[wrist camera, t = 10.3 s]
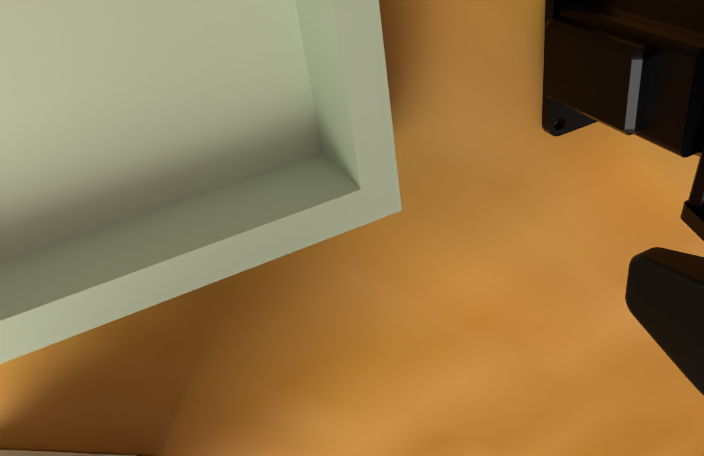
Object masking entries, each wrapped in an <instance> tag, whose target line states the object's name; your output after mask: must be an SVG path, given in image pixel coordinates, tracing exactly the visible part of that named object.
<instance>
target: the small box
mask: <svg viewBox="0 0 704 456" xmlns="http://www.w3.org/2000/svg"><path fill="white" fill-rule="evenodd" d="M0 456H135V455H111V454H87V453H67V452H51V451H29V450H0Z"/></svg>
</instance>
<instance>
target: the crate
mask: <svg viewBox="0 0 704 456" xmlns="http://www.w3.org/2000/svg"><path fill="white" fill-rule="evenodd" d="M400 211H402V207H401V198H400V189H399V179H398V170H397V161H396V152H395V143H394V134H393V125H392V116H391V107H390V98H389V89H388V80H387V71H386V61H385V52H384V43H383V34H382V25H381V16H380V7H379V0H0V364H2V363H4V362H7V361H10V360H12V359H15V358H17V357H20V356H23V355H25V354H28V353H30V352H33V351H36V350H38V349H41V348H44V347H46V346H49V345H51V344H54V343H57V342H59V341H62V340H65V339H67V338H70V337H72V336H75V335H78V334H80V333H83V332H85V331H88V330H91V329H93V328H96V327H99V326H101V325H104V324H106V323H109V322H112V321H114V320H117V319H119V318H122V317H125V316H127V315H130V314H133V313H135V312H138V311H140V310H143V309H146V308H148V307H151V306H154V305H156V304H159V303H161V302H164V301H167V300H169V299H172V298H174V297H177V296H180V295H182V294H185V293H188V292H190V291H193V290H195V289H198V288H201V287H203V286H206V285H208V284H211V283H214V282H216V281H219V280H222V279H224V278H227V277H229V276H232V275H235V274H237V273H240V272H242V271H245V270H248V269H250V268H253V267H256V266H258V265H261V264H263V263H266V262H269V261H271V260H274V259H277V258H279V257H282V256H284V255H287V254H290V253H292V252H295V251H297V250H300V249H303V248H305V247H308V246H311V245H313V244H316V243H318V242H321V241H324V240H326V239H329V238H331V237H334V236H337V235H339V234H342V233H345V232H347V231H350V230H352V229H355V228H358V227H360V226H363V225H366V224H368V223H371V222H373V221H376V220H379V219H381V218H384V217H386V216H389V215H392V214H394V213H397V212H400Z"/></svg>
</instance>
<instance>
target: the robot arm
mask: <svg viewBox="0 0 704 456" xmlns="http://www.w3.org/2000/svg"><path fill="white" fill-rule="evenodd" d="M557 119H558V122H557V123H556V124H555V122H556V121H557ZM598 121H599V122H601V123H603V124H605V125H607V126H609V127H611V128H613V129H615V130H618V131H620V132H622V133H624V134H626V135H632V134H634V135H636V136H638V137H641V138H643V139H645V140H647V141H649V142H651V143H653V144H656V145H658V146H660V147H662V148H664V149H666V150H668V151H671V152H673V153H675V154H677V155H679V156H681V157H683V158H684V157H689V156H691V155H693V154H694V155H697V156H699V157H700V159H699V163H698V167H697V170H696V174H695V177H694V181H693V185H692V188H691V192H690V196H689V199H688V200H687V201H685V202H684V206H683V210H682V213H681V219H682V220H683V221H684V222H685V223H686V224H687V225H688V226H689V227H690V228H691V229H692V230H693V231H694V232H695V233H696V234H697V235H698V236H699V237H700V238H701V239H702V240H703V241H704V0H546V7H545V41H544V75H543V109H542V127H543V129H544V131H545V132H547V133H549V134H551V135H553V136H560V135H563V134H566V133H568V132H571V131H574V130H576V129H579V128H582V127H584V126H587V125H590V124H592V123H595V122H598ZM625 299H626V304H627V306H628V308H629V310H630V312H631V313H632V314H633V316H634V317H635V318H636V319H637V320H638V321H639V323H640V324H641V325H642V326H643V327H644V328H645V330H646V331H647V332H648V333H649V334H650V335H651V337H652V338H653V339H654V340H655V341H656V342H657V344H658V345H659V346H660V347H661V348H662V349H663V351H664V352H665V353H666V354H667V355H668V356H669V357H670V359H671V360H672V361H673V362H674V363H675V364H676V366H677V367H678V368H679V369H680V370H681V371H682V373H683V374H684V375H685V376H686V377H687V378H688V379H689V381H690V382H691V383H692V384H693V385H694V386H695V387H696V388H697V389H698V390H699V391H700V392H701V393H702V394H703V395H704V257H700V256H696V255H691V254H687V253H683V252H678V251H674V250H669V249H665V248H660V247H655V248H651V249H648V250H646V251H644V252H642V253H640V254H637V255H635V256H634V257H633V258H632V259H631V261H630V264H629V271H628V278H627V286H626V294H625Z"/></svg>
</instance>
